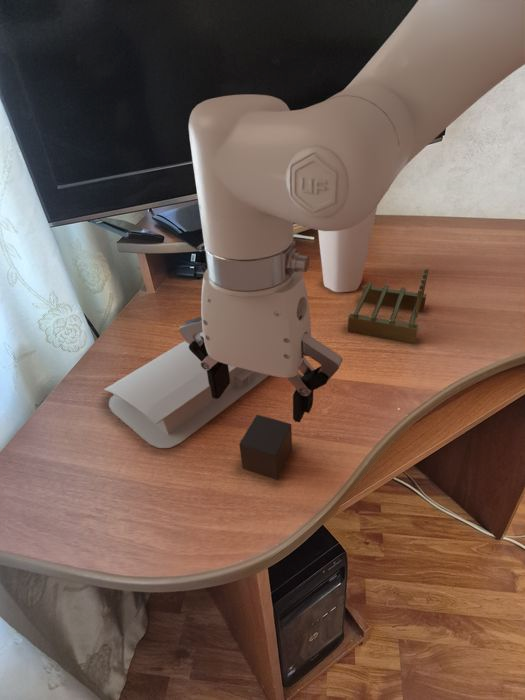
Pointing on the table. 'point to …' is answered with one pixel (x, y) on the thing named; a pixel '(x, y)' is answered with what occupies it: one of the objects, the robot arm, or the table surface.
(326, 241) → the cup
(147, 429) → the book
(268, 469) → the box
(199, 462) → the table surface
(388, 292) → the rack
